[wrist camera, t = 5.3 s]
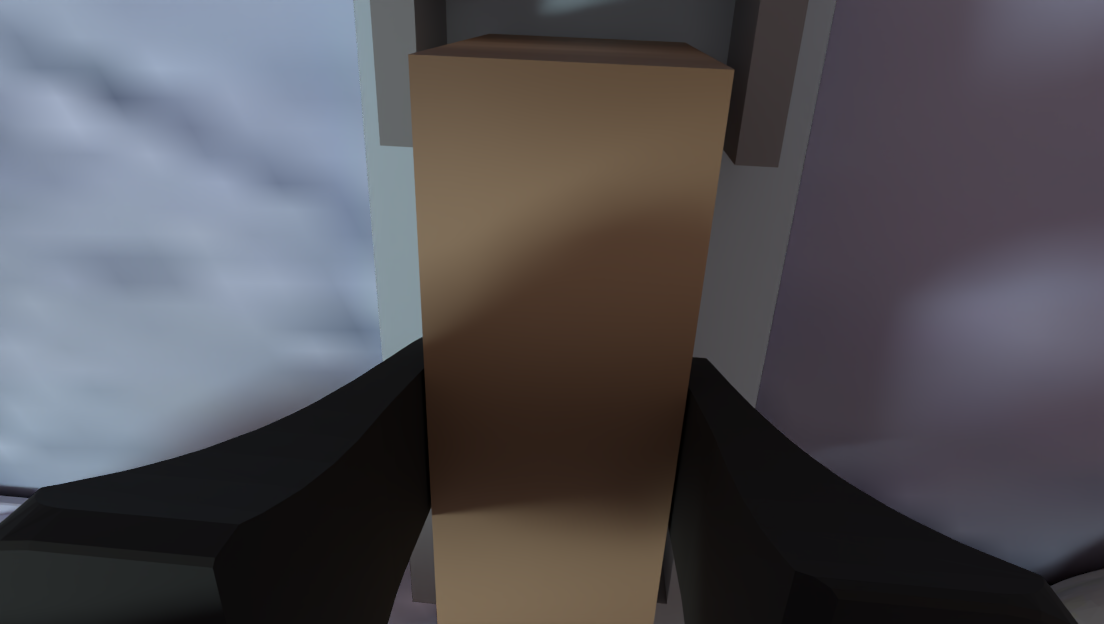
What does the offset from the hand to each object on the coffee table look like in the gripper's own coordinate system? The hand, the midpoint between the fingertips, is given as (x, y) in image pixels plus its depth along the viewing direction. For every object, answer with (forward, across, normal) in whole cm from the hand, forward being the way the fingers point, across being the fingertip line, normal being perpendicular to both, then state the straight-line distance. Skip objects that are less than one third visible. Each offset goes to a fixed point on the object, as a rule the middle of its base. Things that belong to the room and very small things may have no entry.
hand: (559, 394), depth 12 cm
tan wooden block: (+4, 0, 0) cm, 4 cm away
